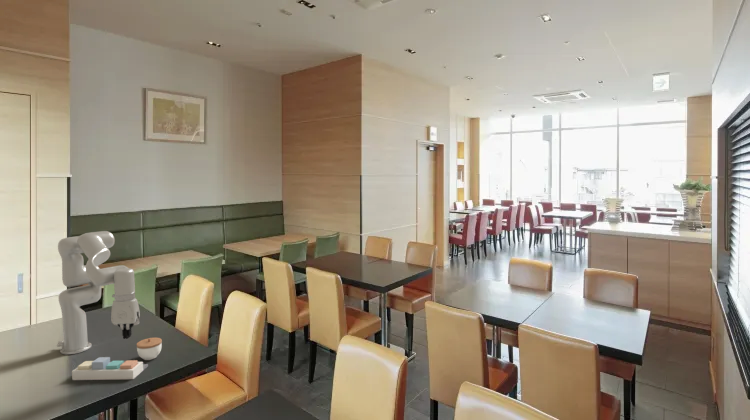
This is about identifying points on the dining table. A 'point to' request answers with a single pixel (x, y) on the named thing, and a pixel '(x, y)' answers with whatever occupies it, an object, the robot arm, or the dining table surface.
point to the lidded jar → (149, 348)
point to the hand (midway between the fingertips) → (127, 337)
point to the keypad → (108, 373)
